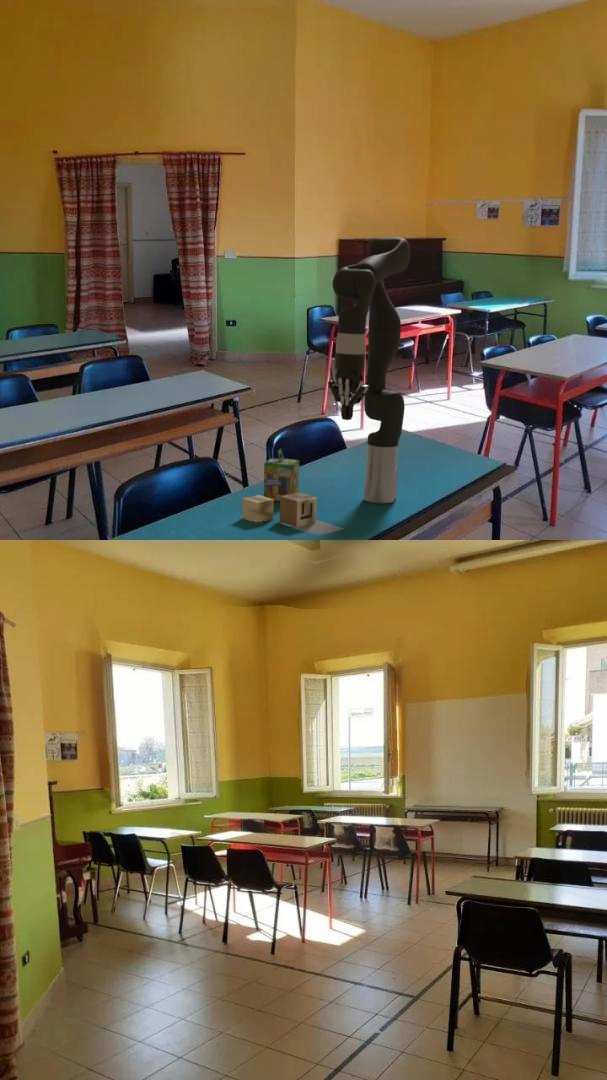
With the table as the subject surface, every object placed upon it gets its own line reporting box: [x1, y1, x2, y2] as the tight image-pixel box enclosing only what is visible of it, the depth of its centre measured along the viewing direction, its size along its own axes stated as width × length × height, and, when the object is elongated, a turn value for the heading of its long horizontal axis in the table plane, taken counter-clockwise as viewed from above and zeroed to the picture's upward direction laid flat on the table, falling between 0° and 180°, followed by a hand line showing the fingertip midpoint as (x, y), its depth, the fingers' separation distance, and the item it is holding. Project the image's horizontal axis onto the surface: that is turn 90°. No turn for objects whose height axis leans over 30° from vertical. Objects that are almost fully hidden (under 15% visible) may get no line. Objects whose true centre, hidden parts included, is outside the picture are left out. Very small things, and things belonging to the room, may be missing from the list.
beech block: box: [241, 494, 275, 523], centre depth 227 cm, size 6×6×6 cm
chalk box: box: [263, 448, 300, 502], centre depth 249 cm, size 9×9×15 cm
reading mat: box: [276, 519, 345, 535], centre depth 224 cm, size 11×16×1 cm
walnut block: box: [279, 491, 318, 527], centre depth 226 cm, size 7×7×7 cm
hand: (346, 419), depth 217 cm, fingers closed
